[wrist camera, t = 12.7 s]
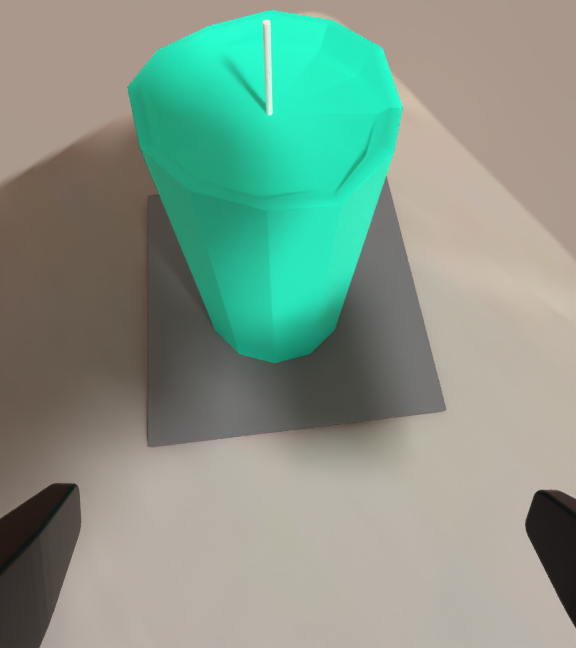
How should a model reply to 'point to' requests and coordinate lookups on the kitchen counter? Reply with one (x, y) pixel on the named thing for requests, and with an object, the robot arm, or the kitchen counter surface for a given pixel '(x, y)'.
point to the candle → (269, 168)
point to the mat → (294, 374)
